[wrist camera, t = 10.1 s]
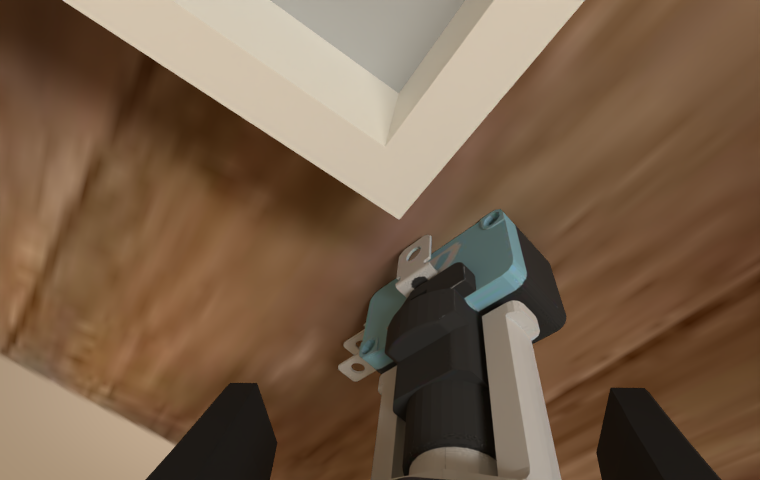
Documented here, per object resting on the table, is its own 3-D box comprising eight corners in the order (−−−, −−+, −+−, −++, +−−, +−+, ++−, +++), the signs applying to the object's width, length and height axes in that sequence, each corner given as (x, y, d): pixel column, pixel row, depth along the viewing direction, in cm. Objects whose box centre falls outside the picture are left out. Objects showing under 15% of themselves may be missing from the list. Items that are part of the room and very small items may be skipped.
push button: (407, 383, 16) (371, 864, 8) (289, 284, 15) (81, 769, 6) (588, 284, 13) (831, 880, 5) (467, 146, 12) (531, 707, 3)
